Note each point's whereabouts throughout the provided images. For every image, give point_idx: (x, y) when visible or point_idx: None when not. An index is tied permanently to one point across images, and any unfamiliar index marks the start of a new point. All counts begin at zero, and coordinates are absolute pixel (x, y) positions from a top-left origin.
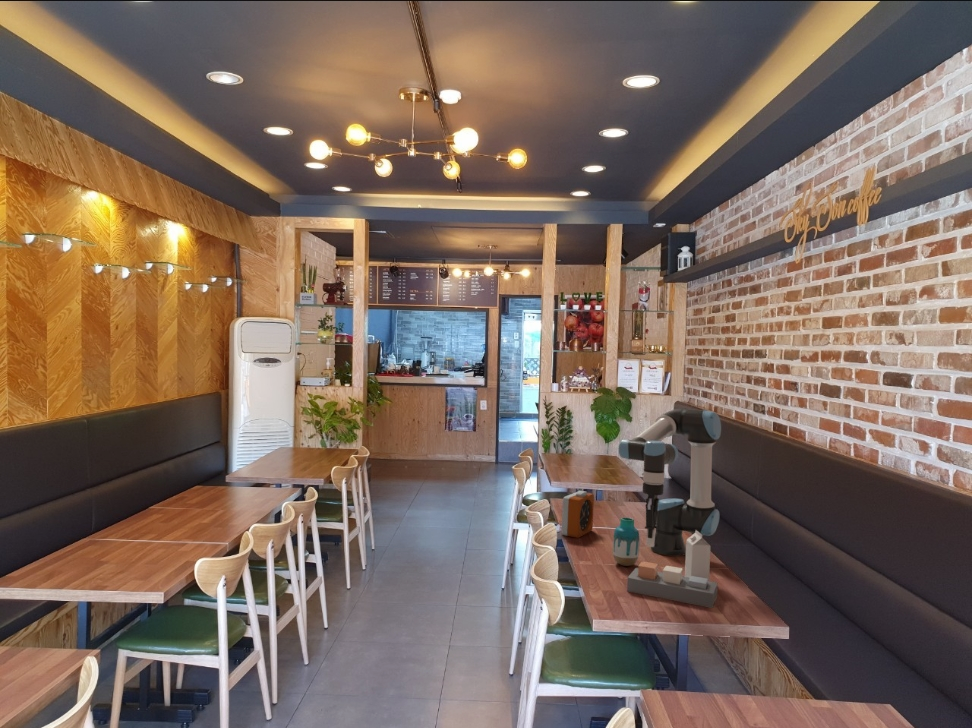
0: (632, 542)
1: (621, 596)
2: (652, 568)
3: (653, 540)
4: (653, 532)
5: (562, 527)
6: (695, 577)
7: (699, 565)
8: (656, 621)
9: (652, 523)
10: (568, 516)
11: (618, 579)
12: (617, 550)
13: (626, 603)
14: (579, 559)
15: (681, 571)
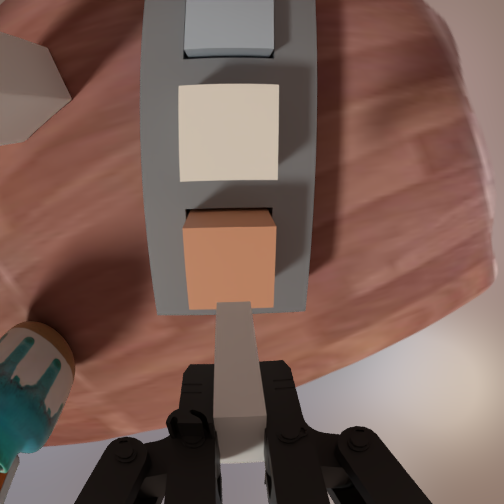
0: (27, 382)
1: (350, 286)
2: (275, 238)
3: (254, 336)
4: (261, 394)
5: (16, 469)
6: (199, 26)
7: (21, 66)
8: (479, 156)
9: (413, 480)
10: (3, 481)
11: (192, 335)
12: (67, 397)
13: (400, 257)
14: (111, 434)
15: (225, 84)
